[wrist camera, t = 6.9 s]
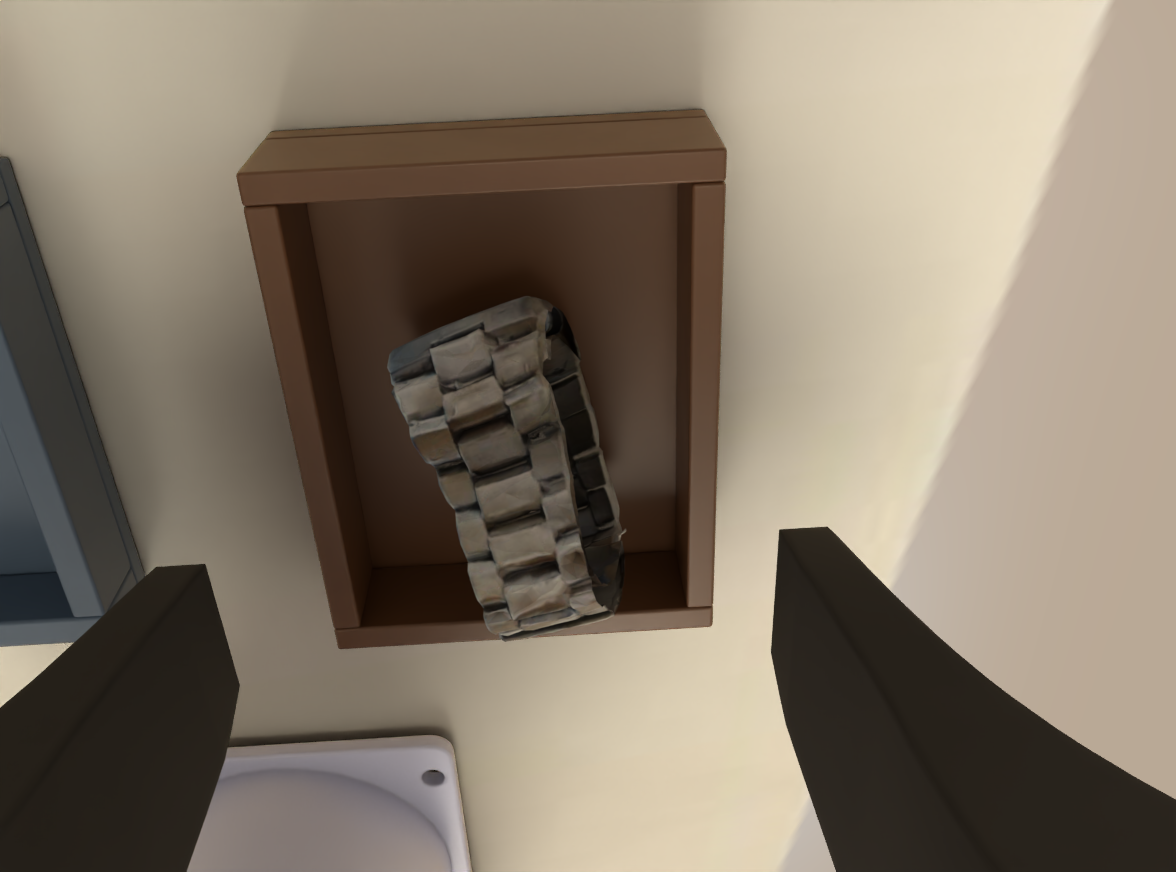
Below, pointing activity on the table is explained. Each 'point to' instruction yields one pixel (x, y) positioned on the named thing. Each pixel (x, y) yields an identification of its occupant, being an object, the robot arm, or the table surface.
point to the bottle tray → (49, 462)
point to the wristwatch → (517, 464)
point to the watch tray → (473, 284)
